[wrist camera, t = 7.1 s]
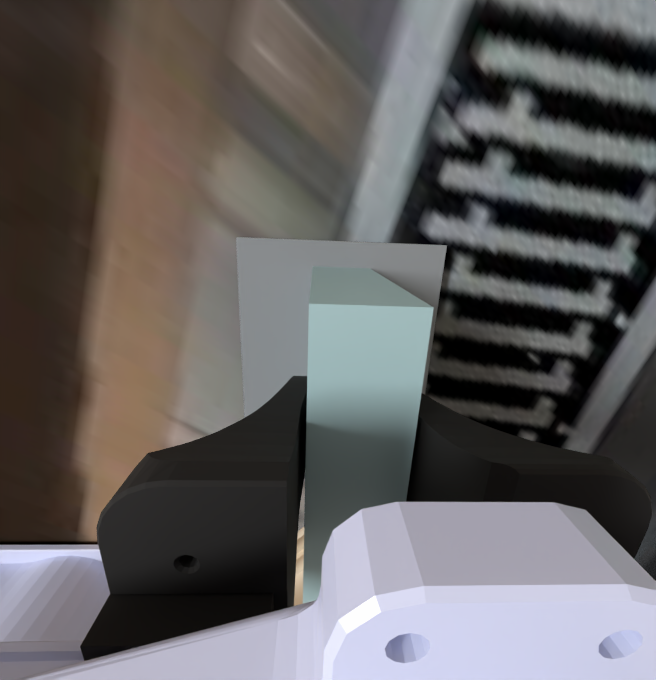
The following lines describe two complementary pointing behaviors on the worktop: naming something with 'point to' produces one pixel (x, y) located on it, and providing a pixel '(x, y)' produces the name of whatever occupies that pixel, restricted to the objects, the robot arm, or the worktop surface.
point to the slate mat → (294, 292)
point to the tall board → (358, 400)
